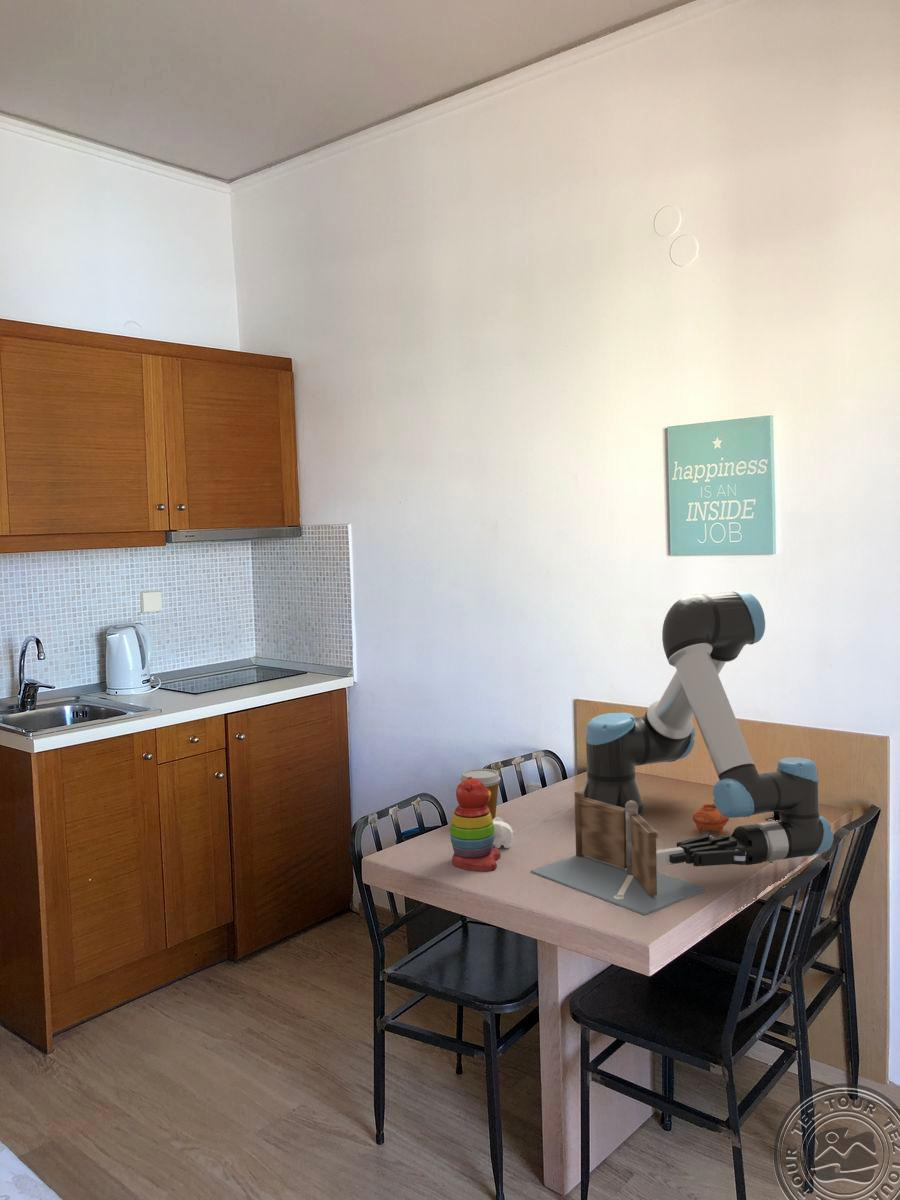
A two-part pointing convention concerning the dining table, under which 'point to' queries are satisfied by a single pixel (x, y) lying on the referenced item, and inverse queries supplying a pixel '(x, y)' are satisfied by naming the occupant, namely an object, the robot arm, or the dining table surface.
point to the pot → (709, 818)
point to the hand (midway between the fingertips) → (651, 859)
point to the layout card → (617, 884)
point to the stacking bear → (473, 828)
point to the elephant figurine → (502, 833)
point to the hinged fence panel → (644, 853)
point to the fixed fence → (604, 831)
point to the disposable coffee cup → (486, 784)
